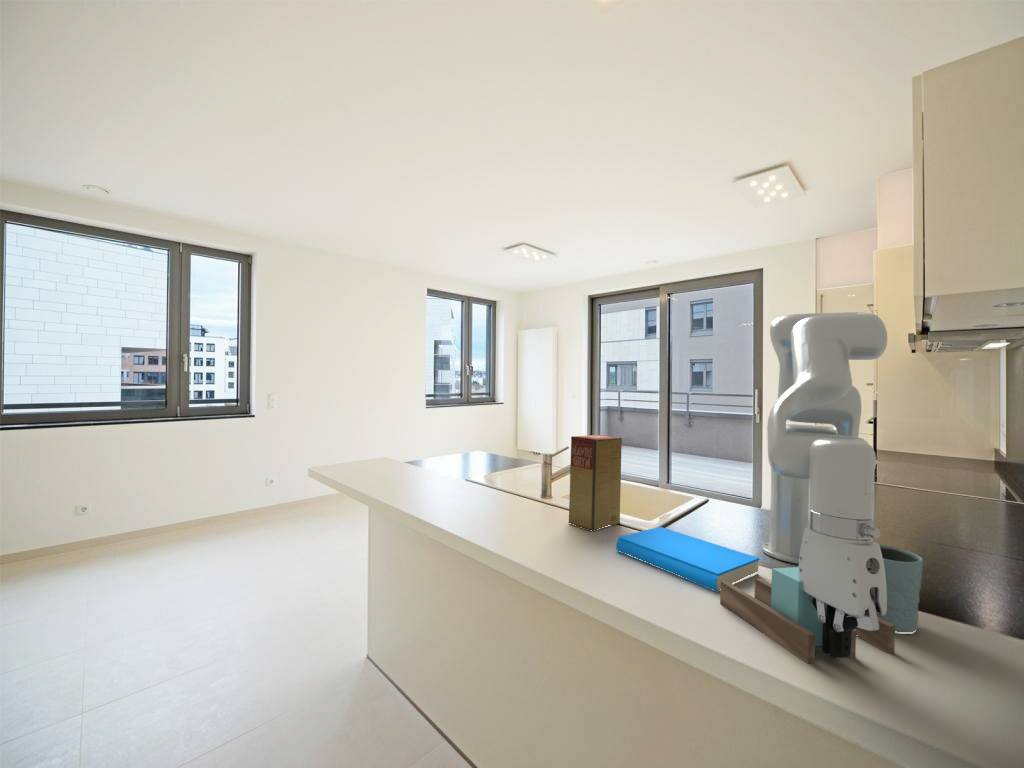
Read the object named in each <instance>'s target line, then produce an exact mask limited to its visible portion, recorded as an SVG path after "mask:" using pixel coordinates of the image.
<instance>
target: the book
mask: <svg viewBox="0 0 1024 768" xmlns="http://www.w3.org/2000/svg"><path fill="white" fill-rule="evenodd" d="M615 546H616V551H617V550H618V551H621V552H623V553H626V554H629V555H631V556H633V557H636V558H638V559H641V560H643V561H646V562H648V563H651V564H653V565H655V566H658V567H660V568H663V569H665V570H668V571H670V572H673V573H675V574H677V575H680V576H682V577H684V578H687V579H689V580H691V581H693V582H692V583H694V582H696V583H698V584H697V585H699V584H700V585H699V586H701V585H703V586H702V587H704V586H706V587H708V588H707V589H709V588H710V589H709V590H711V589H713V590H715V591H714V592H716V591H717V592H719V591H718V590H720V589H721V581H727V582H729V583H731V584H732V583H733V582H736V581H738V580H740V579H742V578H744V577H746V576H748V575H751V574H753V573H755V572H757V571H758V572H759V561H760V557H758V556H754V555H751V554H747V553H744V552H741V551H738V550H735V549H731V548H728V547H726V546H722V545H718V544H717V543H713V542H710V541H706V540H703V539H701V538H698V537H694V536H690V535H688V534H685V533H680V532H678V531H675V530H671V529H668V528H666V527H662V526H657V527H654V528H650V529H649V528H648V529H645V530H642V531H637V532H633V533H629V534H624V535H620V536H618V537H617V540H616V545H615ZM677 575H676V576H677ZM684 578H683V579H684ZM689 580H688V581H689ZM691 581H690V582H691ZM696 583H695V584H696ZM706 587H705V588H706ZM713 590H712V591H713Z"/></svg>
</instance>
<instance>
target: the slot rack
mask: <svg viewBox="0 0 1024 768" xmlns="http://www.w3.org/2000/svg"><path fill="white" fill-rule="evenodd" d="M771 586H772V583H770V582H768V581H766V580H764V579H763V578H754V596H752V595H751V594H749V593H748V592H746V591H744V590H742V589H741V588H739V587H737V586H735V585H732V584H731V583H729V582H727V581H721V590H720V591H719V592H720V594H719V595H720V597H719V604H720V605H722V606H723V608H726V609H727V610H729V611H730V612H731V613H734V615H736V616H738V617H739V618H741V619H742V620H744V622H746V623H748V625H751V626H752V627H754V628H755V629H757V630H758V631H760V632H761V633H763V634H764V635H765V636H766V637H768V638H770V639H771V640H772V641H774V642H776V643H777V644H778V645H780V646H781V647H783V648H784V649H786V650H787V651H789V652H790V653H791V654H793V655H794V656H796V657H798V658H799V659H800V660H801V661H803V662H804V663H806V664H814V663H815V661H816V659H815V655H816V654H815V653H816V652H815V651H816V646H815V634H814V633H812V632H810V631H809V630H807V629H805V628H804V627H802V626H800V625H799V624H797V623H795V622H794V621H792V620H791V619H789V618H787V617H786V616H784V615H782V614H781V613H779V612H777V611H776V610H774V609H772V608H771ZM846 618H847V617H846ZM877 618H878V617H877ZM878 623H879V630H873V631H869V630H865V629H861V628H857V629H856V630H854V631H851V652H850V656H849V657H847V658H848V659H854V658H856V652H857V651H856V649H857V647H856V645H857V637H858V636H859V637H858V638H860V637H861V638H862V639H861V638H860V639H861V640H863V639H864V641H865V642H867V641H868V642H867V643H869V644H871V645H872V646H874V647H876V648H878V649H880V650H881V649H882V650H881V651H882V652H883V651H884V652H885V653H887V654H893V653H892V652H894V653H895V641H896V640H895V638H896V636H895V635H896V634H895V625H893V624H891V623H889V622H887V621H885V620H882V619H880V618H878ZM856 635H858V636H856Z"/></svg>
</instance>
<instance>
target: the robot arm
mask: <svg viewBox="0 0 1024 768" xmlns="http://www.w3.org/2000/svg"><path fill="white" fill-rule="evenodd" d="M769 336H770V342H771V345H772V347H773V350H774V351H775V354H776V356H777V359H778V363H779V374H778V386H777V387H778V390H777V399H776V401H775V402H774V404H773V406H772V407H771V409H770V412H769V415H768V418H767V427H766V429H767V437H766V438H767V459H768V463H769V466H770V505H769V506H770V510H769V511H770V514H769V541H767V542H765V543H762V545H761V550H762V552H763V553H764V554H766V555H768V557H769V556H770V557H772V558H774V559H777V560H779V561H784V562H787V563H792V564H798V567H799V568H798V580H799V581H801V588H802V590H803V591H805V592H806V593H807V594H809V599H808V600H809V601H810V602H811V603H813V605H814V607H815V609H816V610H817V612H818V619H819V621H820V622H821V623H823V633H822V647H821V650H822V653H824V654H826V655H828V656H829V657H830V658H831V659H842V658H848V657H849V656H850V652H851V631H854V630H856V629H857V628H861V629H865V630H869V631H873V630H879V623H878V618H877V616H884V615H886V611H887V590H886V577H885V569H884V562H883V557H882V553H881V549H880V546H879V544H880V543H878V542H875V541H874V539H879V538H880V537H881V534H882V533H881V530H880V529H879V528H877V527H874V515H875V514H874V510H875V506H874V505H875V504H874V503H875V474H876V473H875V471H876V466H877V458H876V452H875V450H874V449H875V448H874V447H873V446H872V445H871V444H870V443H868V441H867V440H866V439H864V438H862V437H860V436H859V434H860V426H861V425H860V424H861V416H862V397H861V394H860V391H859V390H858V388H857V387H855V386H854V385H853V378H852V374H851V373H852V372H851V369H850V368H851V367H850V362H849V361H854V360H855V361H857V360H858V361H860V360H861V361H869V360H870V361H871V360H878V358H881V356H882V355H883V354H884V352H885V351H886V349H887V346H888V332H887V327H886V324H885V323H884V321H883V320H882V319H881V317H880V316H879V315H876V314H875V313H869V312H861V311H860V312H853V311H852V312H850V311H849V312H847V311H846V312H826V313H825V312H823V313H822V312H817V313H815V312H814V313H793V314H784V315H781V316H777V317H776V318H774V319H773V320H772V321H771V324H770V328H769ZM788 421H789V422H795V424H794V423H793V424H792V423H787V422H788ZM796 423H797V424H796ZM798 423H805V424H798ZM811 424H823V425H811ZM826 425H832V426H826ZM846 617H847V618H846Z"/></svg>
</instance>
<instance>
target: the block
mask: <svg viewBox="0 0 1024 768" xmlns="http://www.w3.org/2000/svg"><path fill="white" fill-rule="evenodd" d="M798 568H799V566H793V567H792V566H789V567H776V568H775V567H774V568H771V584H772V586H771V608H772V609H774V610H776V611H777V612H779V613H781V614H782V615H784V616H786V617H787V618H789V619H791V620H792V621H794V622H795V623H797V624H799V625H800V626H802V627H804V628H805V629H807V630H809V631H810V632H812V633H814V634H815V647H821V646H822V633H823V623H821V622H820V621H819V619H818V612H817V610H816V609H815V607H814V605H813V603H811V602H810V601H809V600H808V599H809V594H807V593H806V592H805V591H803V590H802V588H801V581H799V580H798Z"/></svg>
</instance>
